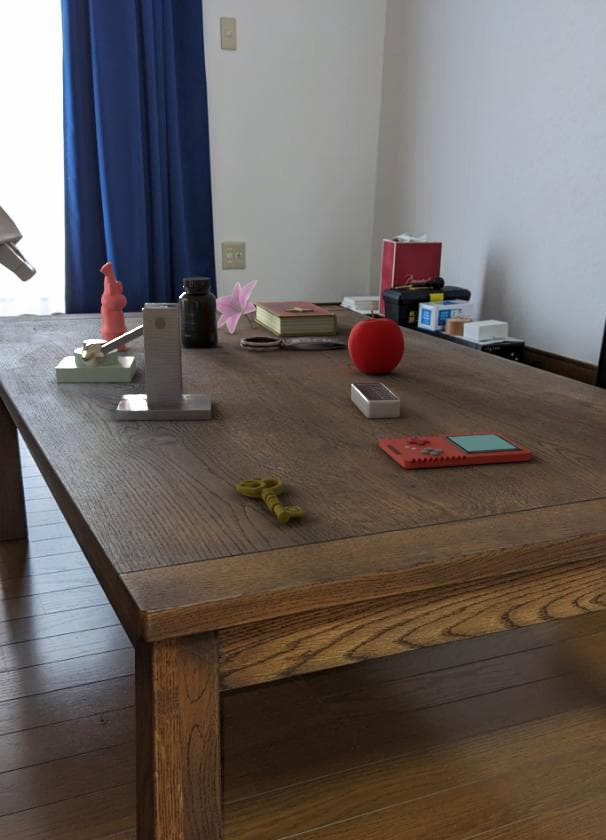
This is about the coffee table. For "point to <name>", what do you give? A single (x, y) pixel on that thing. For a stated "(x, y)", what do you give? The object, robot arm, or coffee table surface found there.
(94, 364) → the lock lever
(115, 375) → the box
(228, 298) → the lily
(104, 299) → the figurine
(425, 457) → the handheld gaming console
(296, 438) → the coffee table surface
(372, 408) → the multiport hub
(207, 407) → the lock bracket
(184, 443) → the coffee table surface
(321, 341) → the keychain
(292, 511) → the key
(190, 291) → the supplement bottle
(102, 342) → the button
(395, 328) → the fruit
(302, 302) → the book
